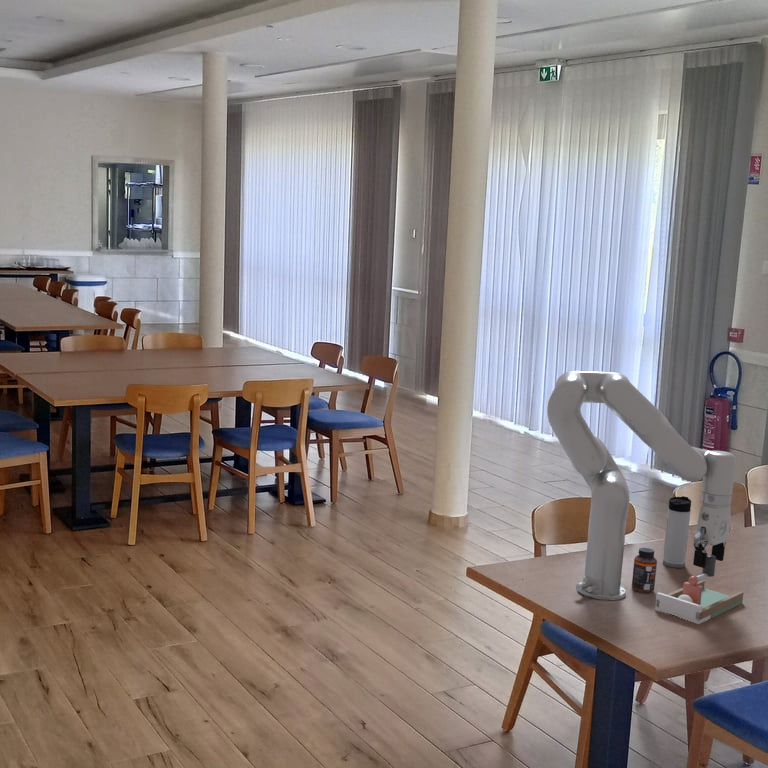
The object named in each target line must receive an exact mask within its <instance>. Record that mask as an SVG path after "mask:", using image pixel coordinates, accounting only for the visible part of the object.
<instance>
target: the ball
mask: <svg viewBox="0 0 768 768" xmlns="http://www.w3.org/2000/svg"><path fill="white" fill-rule="evenodd" d="M678 598H679V599H682V600H685V601H688V602H691V603H693V601H692V599H691V597H690V596H688V595H680V596H679V597H678Z"/></svg>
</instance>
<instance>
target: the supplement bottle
mask: <svg viewBox="0 0 768 768" xmlns="http://www.w3.org/2000/svg"><path fill="white" fill-rule="evenodd" d="M633 560H634V561H633V569H632V580H631V588H632V590H633V591H634V592H637V593H640V594H641V593H642V594H651V593H653V592H655V588H656V587H655V586H656V576H657V575H656V574H657V567H658V566H657V564H658V560H657V558H656V557H655V550H654V549H653V548H649V547H639V548H638V555H635V557H634V559H633Z"/></svg>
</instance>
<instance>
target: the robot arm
mask: <svg viewBox="0 0 768 768" xmlns="http://www.w3.org/2000/svg"><path fill="white" fill-rule="evenodd" d="M554 386H555V387H554V388H553V390H552V393H551V395H550V397H549V399H548V402H547V410H546V411H547V418H548V423H549V425H550V427H551V429H552V431H553V433H554V434H555V436H556V438H557V439H558V441H559V443H560V446H561V447H562V449H563V450H564V452H565V454H566V456H567V457H568V459H569V460H570V463H571V464H572V467H573V469H574V470H575V471H576V472H577V473H578V474H579V475H581V476H582V478H583V479H584V481H585V483H586V484H587V486H588V487H589V489H590V491H591V492H590V494H591V497H590V508H589V509H590V510H589V519H588V531H587V533H588V534H587V543H586V555H585V556H586V557H585V567H584V575H583V579H582V581H581V582H579V583H577V584H576V585H575V590H576V591H577V592H578V593H580V594H582V595H584V596H585V597H589V598H593V599H597V600H605V601H616V600H622V599H624V598H625V597H626V593H627V590H626V588H624V586H621V584H622V582H621V581H622V573H623V572H622V571H623V560H624V553H625V552H624V551H625V540H626V529H627V519H628V514H629V507H630V490H629V486H628V482H627V479H626V478H625V476H624V474H623V472H622V471H621V469H620V468H619V466H618V465H617V463H616V461H615V459H614V458H613V456H612V455H611V453H610V451H609V449H608V448H607V446H606V445H605V443H604V442H603V441H602V439H600V438H598V436H595V435H594V433H593V431H591V429H590V427H589V425H588V423H587V422H586V420H585V419H584V416H583V415H582V411H581V409H582V406H583V404H584V403H590V404H591V403H593V404H595V403H596V404H604V405H605V406H606V407H607V408H608V409H609V410H610V411H612V413H613V414H615V415H616V417H618V418H619V420H621V421H622V422H623V423H624V424H625V425H626V427H628V428H629V429H630V430H631V431H632V432H633V433H634V434H635V435H636V436H638V438H639V439H640V440H641V441H642V442H643V443H644V444H645V445H646V446H647V447H649V448H650V449H651V450H652V451H653V452H654V453H655V454H656V455H657V456H658V458H659V459H660V460H662V461H663V462H664V463H665V464H666V465H667V466H668V467H669V468H670V469H671V470H672V471H673V472H674V473H675V474H676V475H677V476H678V477H679V478H681V479H682V480H683V481H685V482H689V483H696V482H699V481H701V480H702V484H701V490H700V491H701V492H700V502H699V503H700V504H701V505H700V508H699V512H698V513H699V514H698V519H697V524H696V531H695V535H694V536H693V547H694V548H693V550H694V551H693V552H694V553H693V556H694V557H693V562H692V564H693V566H695V567H699V568H701V569H703V568H705V567H706V560H707V554H708V553H707V550H708V548H709V546H711V553H710V555H714V556H716V561H720V562H723V561H724V557H725V548H726V545H727V541H728V540H729V538H730V530H731V517H732V516H731V514H732V512H731V510H732V509H731V504H732V497H733V489H734V483H735V481H734V480H735V472H736V467H737V466H736V464H737V457H736V456H735V454H733V453H732V452H729V451H723V450H708V449H703V448H699V447H696V446H691V445H690V444H689V443H688V442H687V441H686V440H685V439H684V438H683V437H682V436H681V435H680V433H678V432H677V430H675V429H676V428H674V427H673V425H672V424H671V423H670V421H669V420H668V418H667V417H666V416H665V415H664V414H663V413H662V412H661V411H660V410H659V409H658V407H656V406H655V405H654V404H653V403H652V402H651V401H650V400H649V399H648V398H647V397H646V396H645V395H643V393H642V392H641V391H639V390H638V389H637V388H636V387H635V386H634V384H632V383H631V381H630V380H629V378H628V377H627V376H625V375H624V374H623V373H619V372H614V371H613V372H612V371H611V372H610V371H609V372H607V371H605V372H604V371H600V372H599V371H582V370H581V371H579V370H570V371H566V372H563V373H562V374H561V375H560V376H559V377H558V378H557V380H556V382H555V385H554Z"/></svg>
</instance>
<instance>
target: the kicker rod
mask: <svg viewBox="0 0 768 768" xmlns="http://www.w3.org/2000/svg"><path fill="white" fill-rule="evenodd" d="M716 563H717V560H716V556H714V555H711V553H710V554H709V553H707V560H706V567H705V568H702V573H701V574H699V575H696V576H695V575H692V576H690V577H689V578H688V581H685V582H683V584H682V588H683V592H682V595H688V596H690V597H691V599H692V601H693V603H695V604H698V605H700V604H701V595H702V586H700V585H697V584H698V582H699V581H702V580H703V581H705V580H706V579H709V578H711V577H715V571H716Z"/></svg>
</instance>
